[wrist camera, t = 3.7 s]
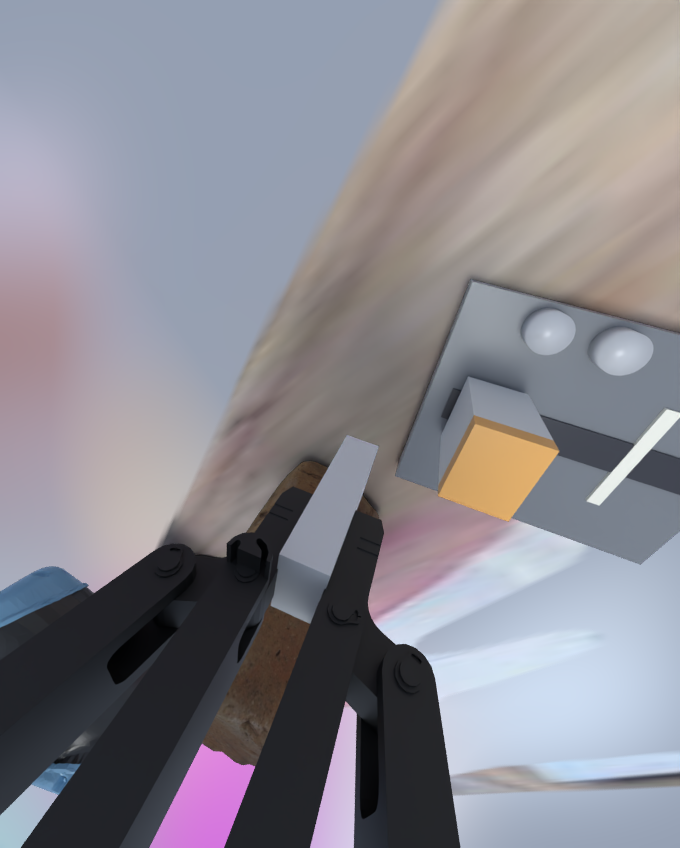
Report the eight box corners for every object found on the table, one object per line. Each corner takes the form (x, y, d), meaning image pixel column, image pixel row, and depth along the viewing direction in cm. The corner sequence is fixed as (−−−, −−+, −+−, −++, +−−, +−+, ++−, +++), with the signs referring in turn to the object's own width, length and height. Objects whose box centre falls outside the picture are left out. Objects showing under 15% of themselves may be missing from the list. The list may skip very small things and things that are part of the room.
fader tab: (440, 436, 24) (437, 495, 18) (468, 376, 21) (475, 423, 16) (493, 453, 23) (508, 521, 18) (528, 394, 21) (559, 451, 15)
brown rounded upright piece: (277, 487, 36) (125, 698, 19) (307, 445, 32) (147, 666, 15) (356, 542, 36) (274, 796, 19) (395, 507, 32) (336, 791, 15)
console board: (398, 463, 29) (392, 487, 26) (470, 279, 21) (474, 283, 18) (630, 545, 26) (654, 583, 23) (822, 369, 18) (897, 393, 15)
